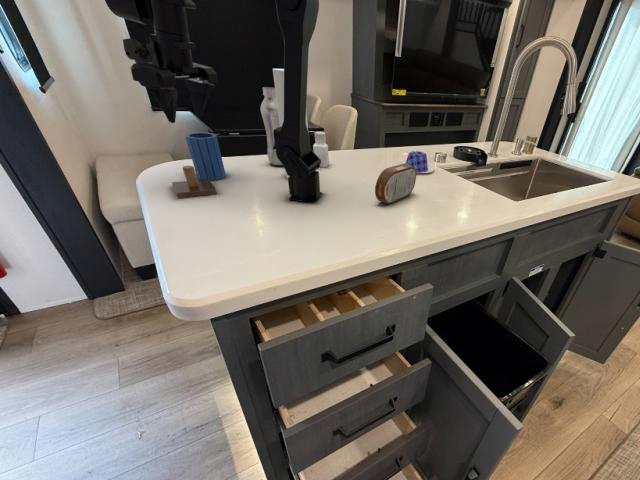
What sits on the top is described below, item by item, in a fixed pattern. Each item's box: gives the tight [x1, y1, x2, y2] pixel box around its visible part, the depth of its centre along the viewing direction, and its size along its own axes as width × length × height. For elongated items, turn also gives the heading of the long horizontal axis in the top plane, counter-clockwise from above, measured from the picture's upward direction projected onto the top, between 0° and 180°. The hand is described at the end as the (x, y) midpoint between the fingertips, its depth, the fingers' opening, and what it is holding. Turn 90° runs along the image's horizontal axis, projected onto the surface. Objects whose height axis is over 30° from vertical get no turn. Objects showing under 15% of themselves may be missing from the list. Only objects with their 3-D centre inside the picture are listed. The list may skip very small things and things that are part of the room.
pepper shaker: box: [312, 131, 330, 168], centre depth 100 cm, size 4×4×10 cm
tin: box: [374, 162, 418, 205], centre depth 82 cm, size 15×3×8 cm, turn 145°
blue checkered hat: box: [398, 150, 435, 174], centre depth 107 cm, size 12×12×5 cm
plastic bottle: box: [259, 86, 283, 166], centre depth 94 cm, size 6×7×20 cm
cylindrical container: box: [272, 68, 309, 179], centre depth 85 cm, size 7×7×25 cm
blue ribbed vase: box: [185, 131, 227, 181], centre depth 83 cm, size 7×7×10 cm
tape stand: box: [171, 165, 217, 199], centre depth 76 cm, size 8×8×6 cm
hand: (186, 119), depth 73 cm, fingers open, 9 cm apart
